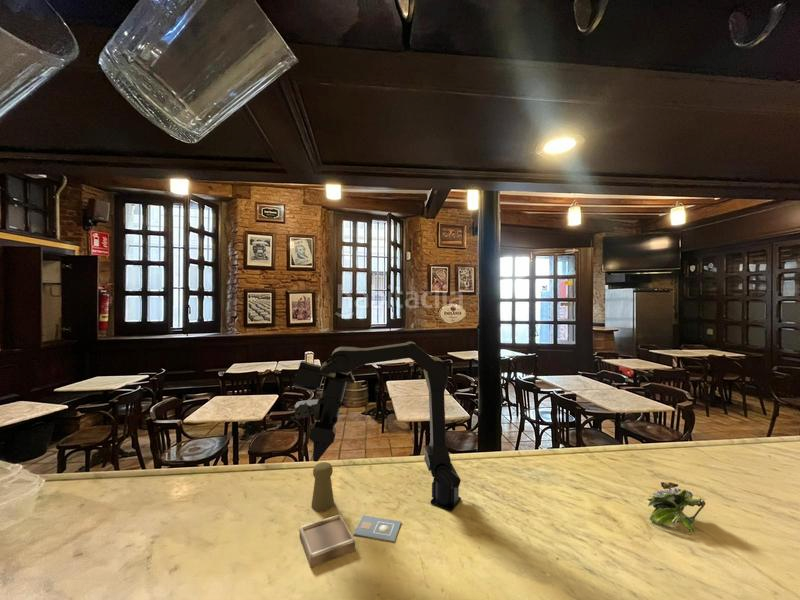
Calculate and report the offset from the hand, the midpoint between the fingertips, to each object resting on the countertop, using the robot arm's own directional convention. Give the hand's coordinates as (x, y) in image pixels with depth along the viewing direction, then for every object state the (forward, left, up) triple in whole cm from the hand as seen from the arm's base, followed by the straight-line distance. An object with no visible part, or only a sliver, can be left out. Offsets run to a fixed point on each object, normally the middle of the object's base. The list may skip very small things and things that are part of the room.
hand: (317, 452), depth 91 cm
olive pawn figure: (+1, -3, -16) cm, 16 cm away
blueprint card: (-17, -3, -15) cm, 24 cm away
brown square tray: (-11, +7, -15) cm, 20 cm away
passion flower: (-78, -46, -16) cm, 92 cm away
